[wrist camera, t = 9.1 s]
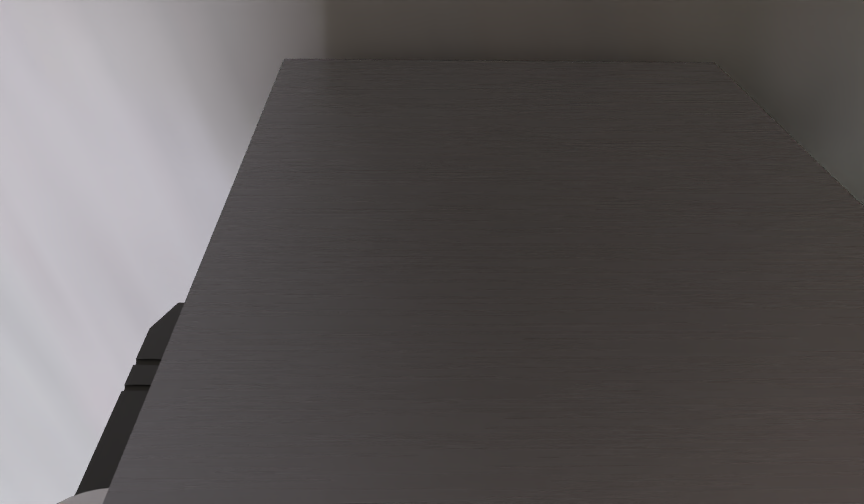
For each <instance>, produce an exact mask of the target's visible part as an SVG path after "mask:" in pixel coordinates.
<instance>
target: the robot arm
mask: <svg viewBox="0 0 864 504" xmlns="http://www.w3.org/2000/svg"><path fill="white" fill-rule="evenodd" d="M183 305H184V303H178V304H176V305H175V306H174V307H173V308H172V309H171V310H170V311H169V312H167V313H166V314H165V315H164V316H163V317H162V318H161V319H160V320H159V321H157V322H156V323H155V324H154V325H153V326H152V327H151V328H150V329H149V331H148V333H147V336H146V338H145V340H144V342H143V345H142V347H141V349H140V351H139V354H138V356H137V358H136V365H133V367H132V369H131V371H130V374H129V376H128V378H127V380H126V383H125V390H124V391H122V392H121V394H120V396H119V398H118V400H117V403H116V405H115V407H114V409H113V412H112V414H111V416H110V418H109V421H108V423H107V425H106V427H105V429H104V432H103V434H102V436H101V438H100V441H99V443H98V445H97V447H96V450H95V452H94V454H93V456H92V459H91V461H90V463H89V465H88V467H87V470H86V472H85V474H84V476H83V479H82V481H81V483H80V485H79V488H78V490H77V492H76V494H75V495H74V496H72V497H69V498H67V499H65V500H63V501H61V502H59V503H57V504H103V501H104V499H105V496H106V494H107V491H108V489H109V487H110V484H111V482H112V479H113V477H114V474H115V472H116V469H117V467H118V465H119V462H120V460H121V457H122V455H123V452H124V450H125V447H126V445H127V443H128V440H129V438H130V435H131V433H132V430H133V428H134V425H135V423H136V420H137V418H138V416H139V413H140V411H141V408H142V406H143V403H144V401H145V398H146V396H147V394H148V391H149V389H150V386H151V384H152V381H153V379H154V376H155V374H156V372H157V369H158V367H159V364H160V362H161V359H162V357H163V354H164V352H165V349H166V347H167V345H168V342H169V340H170V337H171V335H172V332H173V330H174V327H175V325H176V323H177V320H178V318H179V315H180V313H181V310H182V308H183Z"/></svg>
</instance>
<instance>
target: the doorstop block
mask: <svg viewBox="0 0 864 504" xmlns="http://www.w3.org/2000/svg"><path fill="white" fill-rule="evenodd" d="M103 504H864V207H863V206H862V205H861V204H860V203H859V202H858V201H857V200H856V199H855V198H854V197H853V196H852V195H851V194H850V193H849V192H848V191H847V190H846V189H845V188H844V187H843V186H842V185H841V184H840V183H839V182H837V181H836V180H835V179H834V178H833V177H832V176H831V175H830V174H829V173H828V172H827V171H826V170H825V169H824V168H823V167H822V166H821V165H820V164H819V163H818V162H817V161H816V160H815V159H814V158H813V157H812V156H811V155H810V154H809V153H808V152H806V151H805V150H804V149H803V148H802V147H801V146H800V145H799V144H798V143H797V142H796V141H795V140H794V139H793V138H792V137H791V136H790V135H789V134H788V133H787V132H786V131H785V130H784V129H783V128H782V127H781V126H780V125H779V124H778V123H777V122H775V121H774V120H773V119H772V118H771V117H770V116H769V115H768V114H767V113H766V112H765V111H764V110H763V109H762V108H761V107H760V106H759V105H758V104H757V103H756V102H755V101H754V100H753V99H752V98H751V97H750V96H749V95H748V94H747V93H746V92H744V91H743V90H742V89H741V88H740V87H739V86H738V85H737V84H736V83H735V82H734V81H733V80H732V79H731V78H730V77H729V76H728V75H727V74H726V73H725V72H724V71H723V70H722V69H721V68H720V67H719V66H718V65H717V64H716V63H685V62H572V61H459V60H346V59H284V61H283V63H282V66H281V68H280V70H279V73H278V75H277V78H276V80H275V83H274V85H273V88H272V90H271V92H270V95H269V97H268V100H267V102H266V105H265V107H264V110H263V112H262V114H261V117H260V119H259V122H258V124H257V127H256V129H255V132H254V134H253V136H252V139H251V141H250V144H249V146H248V149H247V151H246V154H245V156H244V159H243V161H242V163H241V166H240V168H239V171H238V173H237V176H236V178H235V181H234V183H233V185H232V188H231V190H230V193H229V195H228V198H227V200H226V203H225V205H224V207H223V210H222V212H221V215H220V217H219V220H218V222H217V225H216V227H215V230H214V232H213V234H212V237H211V239H210V242H209V244H208V247H207V249H206V252H205V254H204V256H203V259H202V261H201V264H200V266H199V269H198V271H197V274H196V276H195V278H194V281H193V283H192V286H191V288H190V291H189V293H188V296H187V298H186V301H185V303H184V305H183V308H182V310H181V313H180V315H179V318H178V320H177V323H176V325H175V327H174V330H173V332H172V335H171V337H170V340H169V342H168V345H167V347H166V349H165V352H164V354H163V357H162V359H161V362H160V364H159V367H158V369H157V372H156V374H155V376H154V379H153V381H152V384H151V386H150V389H149V391H148V394H147V396H146V398H145V401H144V403H143V406H142V408H141V411H140V413H139V416H138V418H137V420H136V423H135V425H134V428H133V430H132V433H131V435H130V438H129V440H128V443H127V445H126V447H125V450H124V452H123V455H122V457H121V460H120V462H119V465H118V467H117V469H116V472H115V474H114V477H113V479H112V482H111V484H110V487H109V489H108V491H107V494H106V496H105V499H104V501H103Z"/></svg>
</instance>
